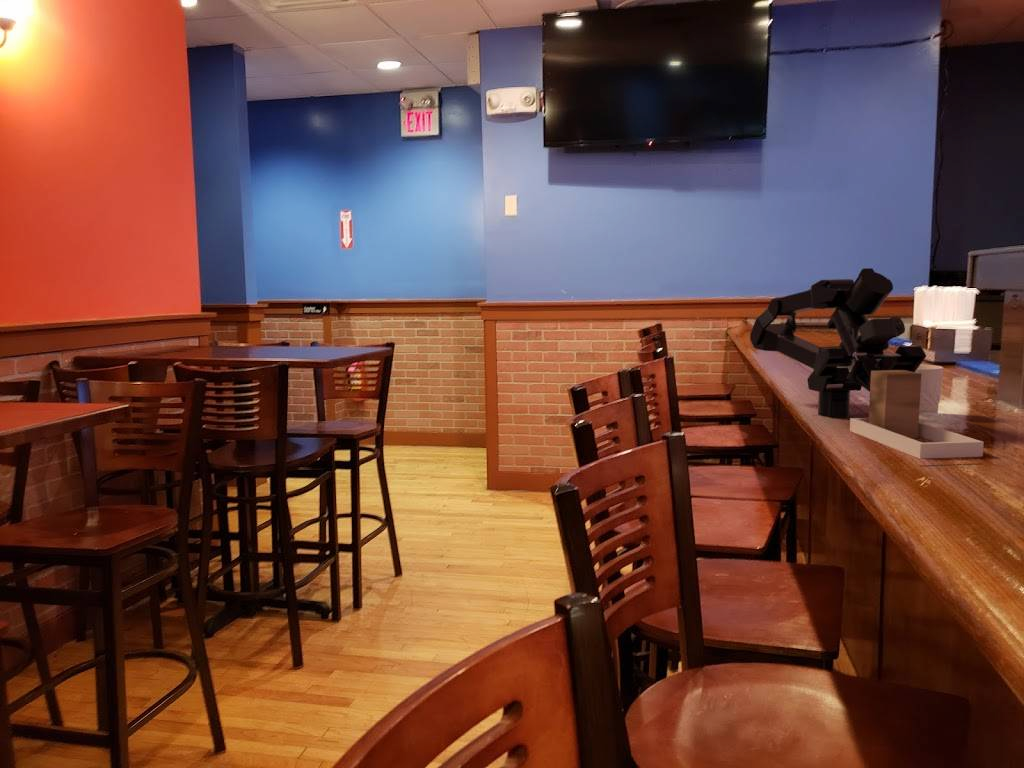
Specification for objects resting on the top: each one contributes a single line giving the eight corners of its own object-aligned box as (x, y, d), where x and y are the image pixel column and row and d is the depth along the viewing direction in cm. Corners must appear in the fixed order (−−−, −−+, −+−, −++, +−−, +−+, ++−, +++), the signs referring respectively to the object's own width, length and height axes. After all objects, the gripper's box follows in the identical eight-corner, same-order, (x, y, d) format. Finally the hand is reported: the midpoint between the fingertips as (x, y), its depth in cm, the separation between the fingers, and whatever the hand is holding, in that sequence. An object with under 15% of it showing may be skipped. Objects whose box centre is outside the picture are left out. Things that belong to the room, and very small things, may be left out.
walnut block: (867, 433, 136) (871, 370, 135) (900, 432, 137) (904, 369, 135) (883, 439, 131) (887, 374, 130) (917, 437, 132) (921, 373, 130)
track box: (849, 437, 139) (850, 418, 138) (903, 435, 140) (904, 416, 139) (919, 466, 118) (920, 444, 118) (982, 464, 119) (983, 441, 118)
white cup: (948, 418, 155) (951, 368, 154) (908, 418, 155) (911, 369, 154) (928, 411, 163) (931, 364, 161) (890, 411, 163) (892, 364, 162)
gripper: (823, 302, 138) (852, 372, 129) (923, 301, 140) (959, 369, 131) (801, 343, 147) (827, 410, 138) (895, 341, 149) (927, 407, 139)
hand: (885, 399), depth 136 cm, fingers closed
